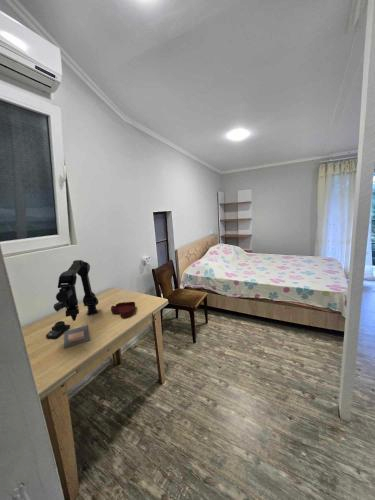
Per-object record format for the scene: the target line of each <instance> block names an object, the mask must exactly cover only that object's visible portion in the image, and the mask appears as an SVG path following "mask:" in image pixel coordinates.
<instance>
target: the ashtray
mask: <svg viewBox="0 0 375 500" xmlns="http://www.w3.org/2000/svg"><path fill="white" fill-rule="evenodd" d="M135 310H136V302H135V301H123V302H119V303H118V302H117V304H115V305H112V306H111V307H110V311H111V313H113V314H118V315H120V316H121V317H123V318H128V317H129V316H131V315H132V314H134V312H135Z"/></svg>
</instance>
